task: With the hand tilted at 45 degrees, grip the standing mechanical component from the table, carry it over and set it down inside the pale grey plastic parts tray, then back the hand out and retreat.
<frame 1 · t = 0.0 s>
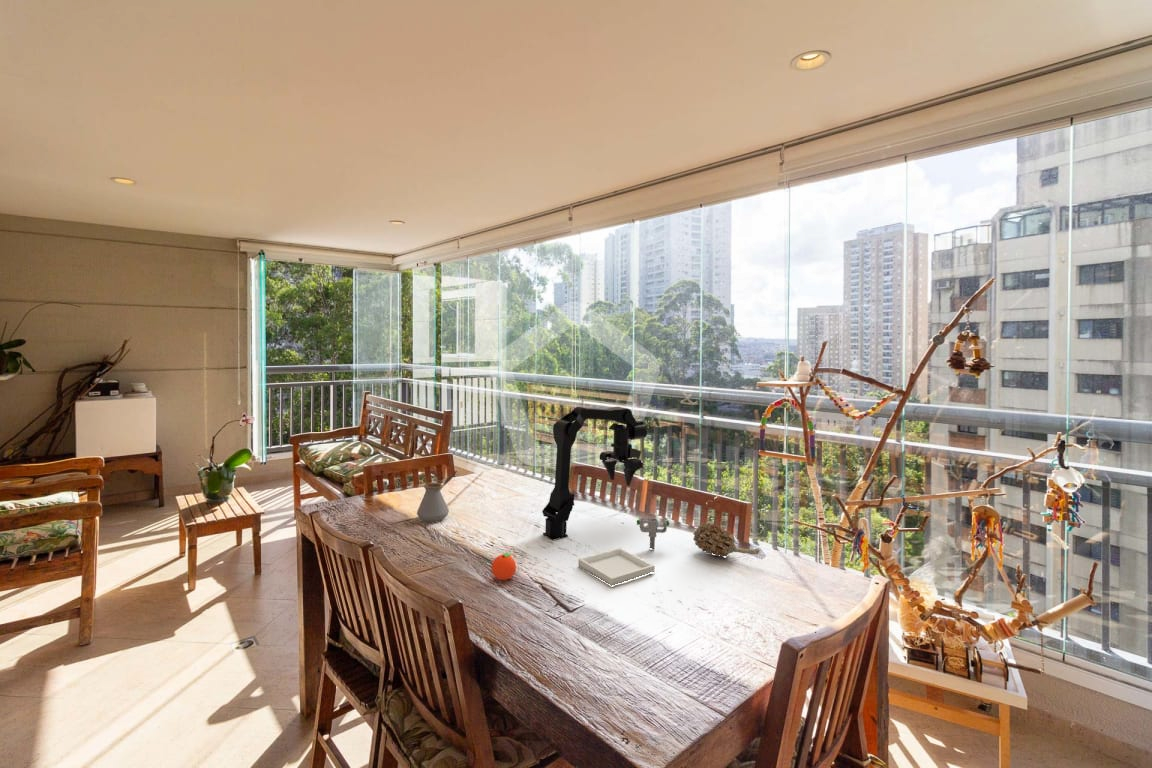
hand: (620, 482, 208), 15 cm above the table, tool pointing down, fingers open, 9 cm apart
coffee pot: (441, 515, 212), on the table
parts tray: (615, 570, 166), on the table
clementine: (505, 579, 160), on the table
mechanical component: (651, 550, 182), on the table
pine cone: (726, 559, 176), on the table
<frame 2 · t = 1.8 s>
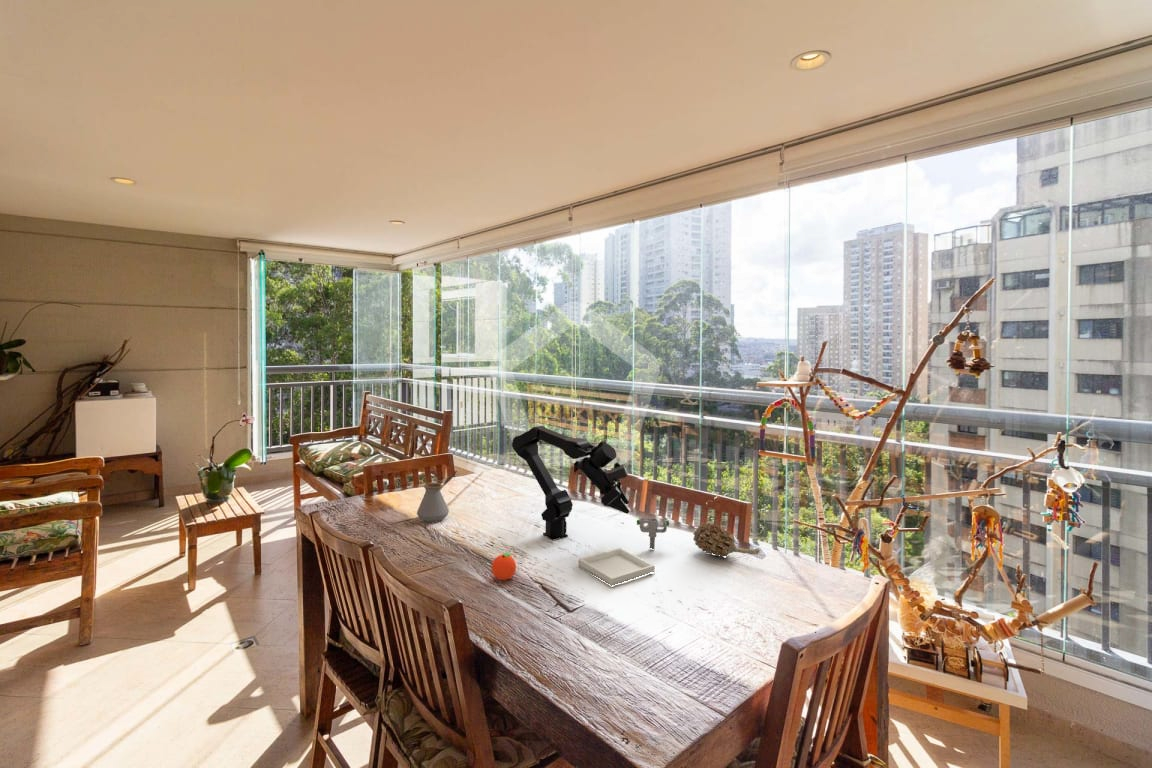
hand: (628, 508, 182), 13 cm above the table, tool tilted 45°, fingers open, 9 cm apart
nothing on the table moved.
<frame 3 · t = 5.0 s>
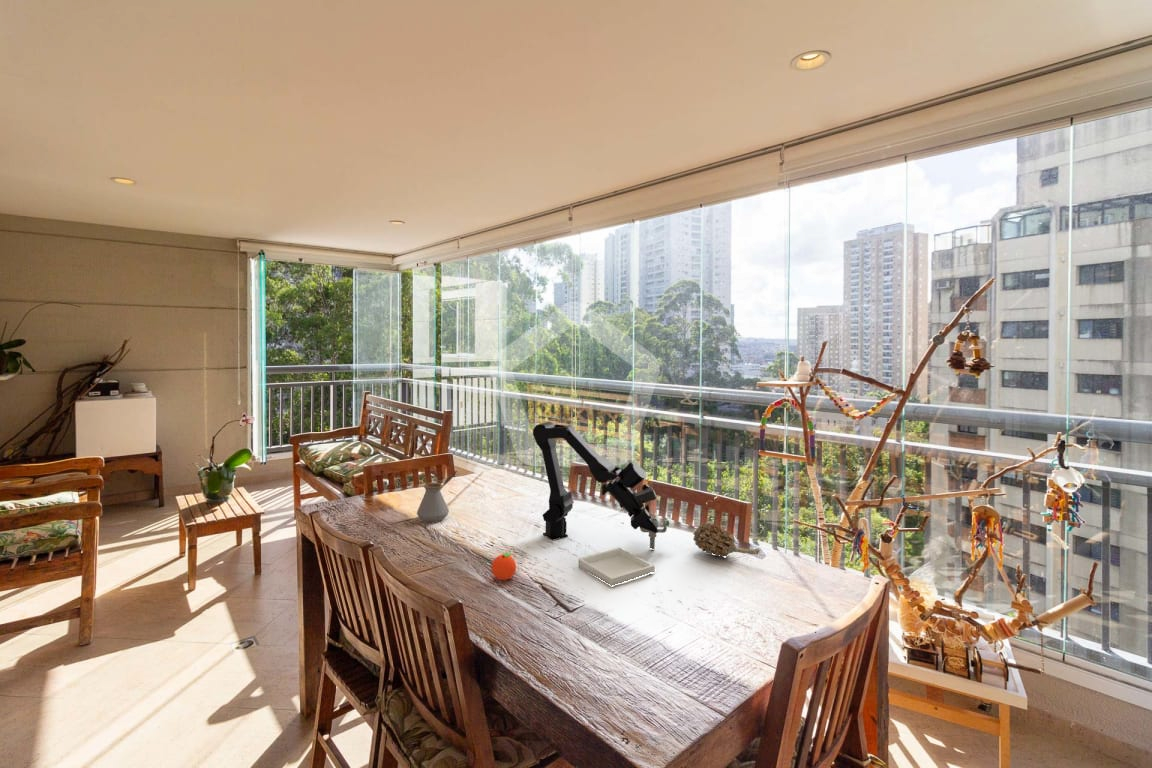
hand: (656, 530, 182), 7 cm above the table, tool tilted 45°, fingers closed on mechanical component, 3 cm apart
mechanical component: (652, 550, 182), on the table, touching gripper
everything else where it was.
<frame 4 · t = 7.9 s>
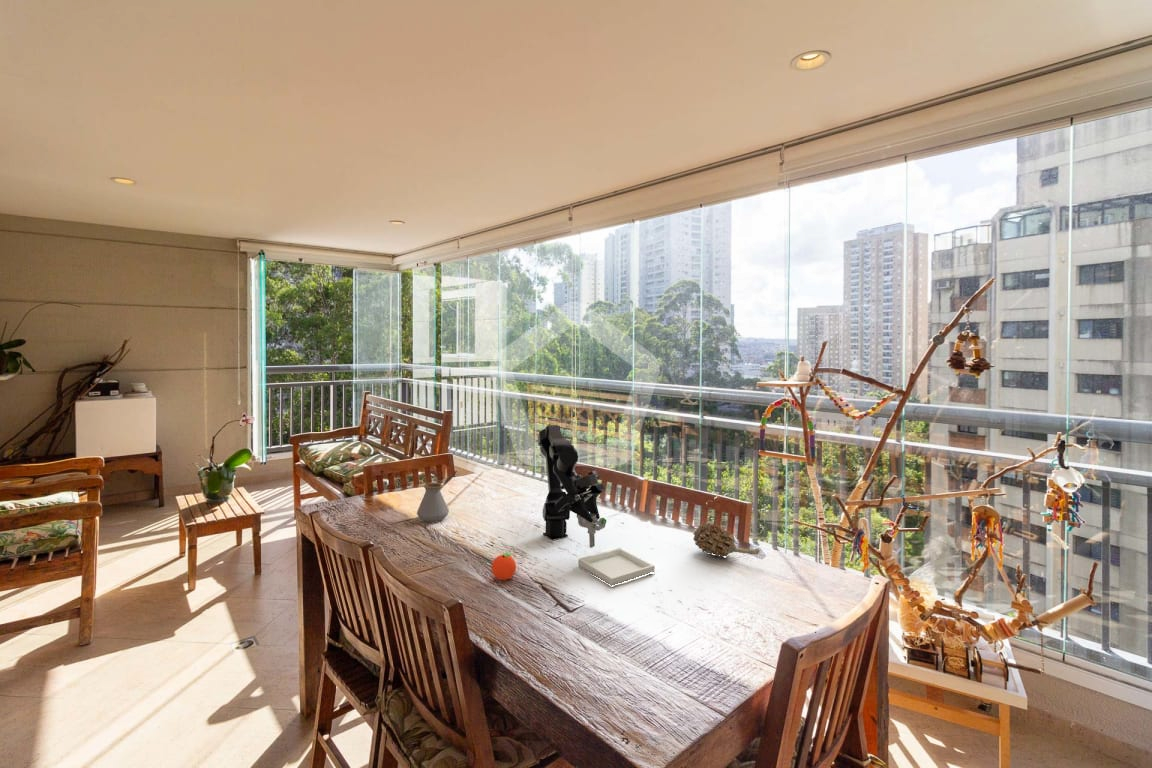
hand: (595, 520, 170), 13 cm above the table, tool tilted 45°, fingers closed on mechanical component, 3 cm apart
mechanical component: (592, 547, 172), point 4 cm above the table, touching gripper
everything else where it was.
when the fingers open (9 cm above the table, at t = 10.1 s): mechanical component stays where it is, resting on parts tray.
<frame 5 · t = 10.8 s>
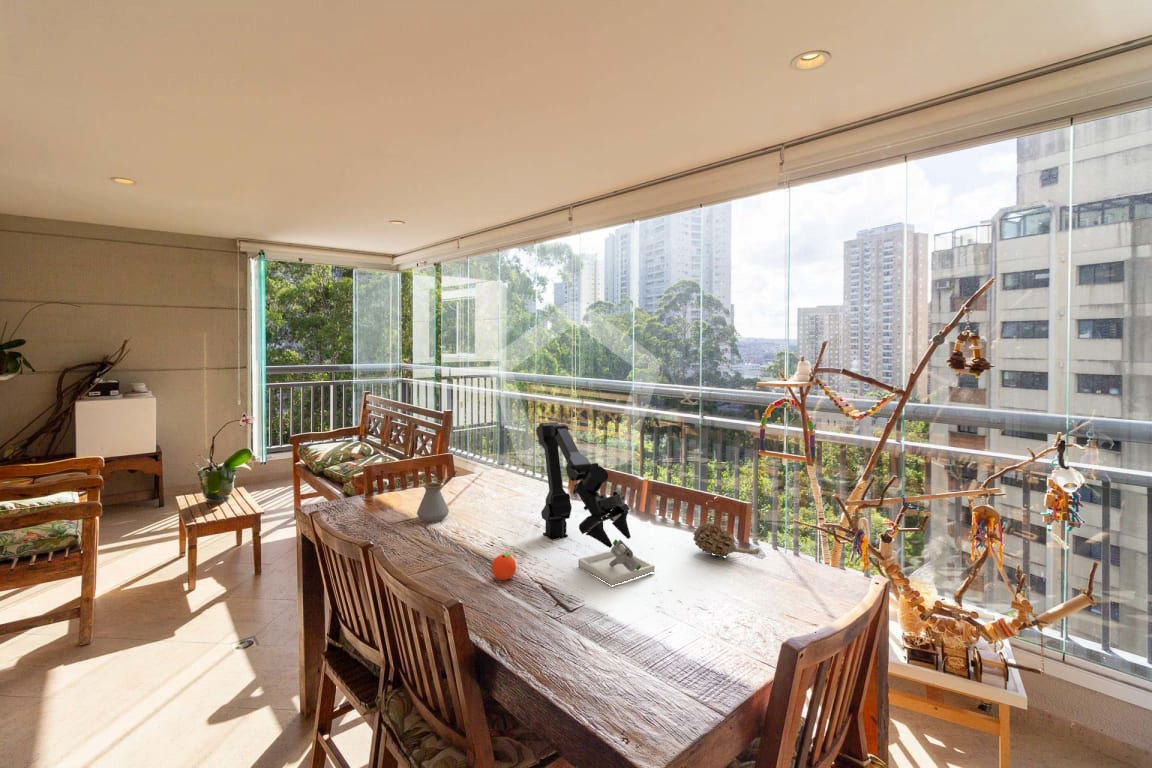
hand: (620, 542, 164), 9 cm above the table, tool tilted 45°, fingers open, 9 cm apart
mechanical component: (611, 564, 167), point 1 cm above the table, touching gripper, parts tray
everything else where it was.
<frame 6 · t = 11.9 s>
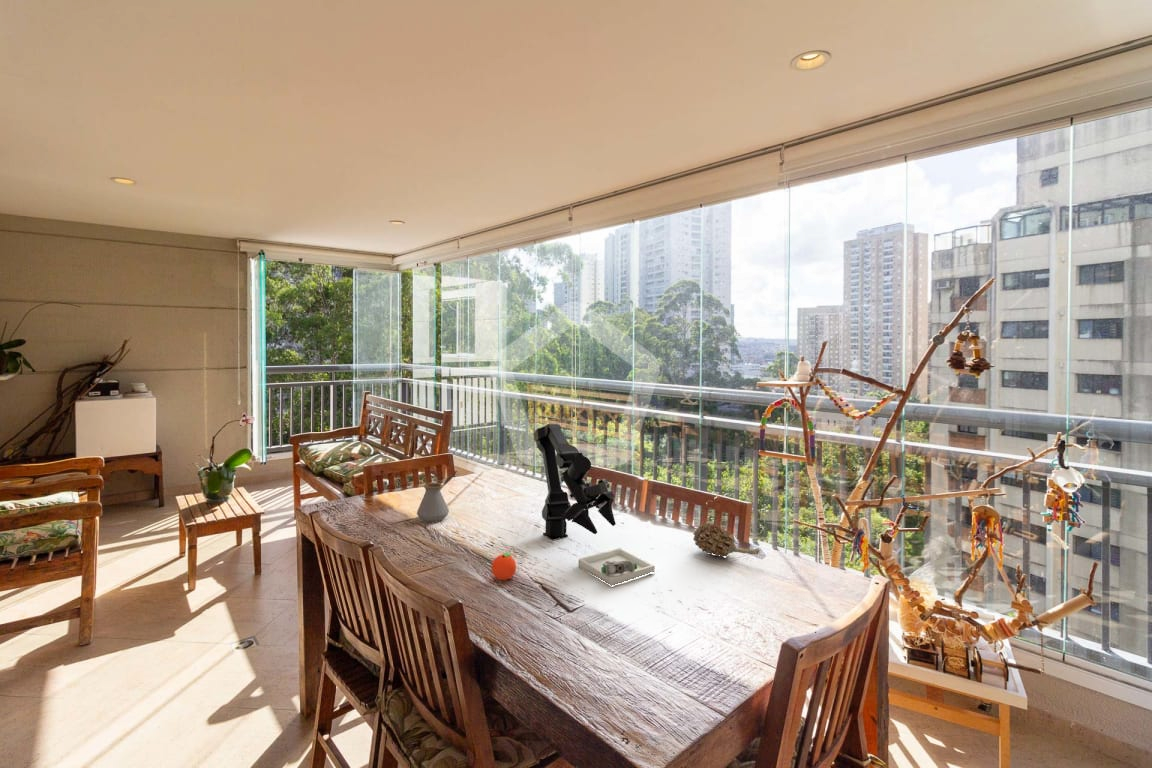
hand: (605, 529, 168), 11 cm above the table, tool tilted 45°, fingers open, 9 cm apart
mechanical component: (607, 563, 167), point 2 cm above the table, touching parts tray
everything else where it was.
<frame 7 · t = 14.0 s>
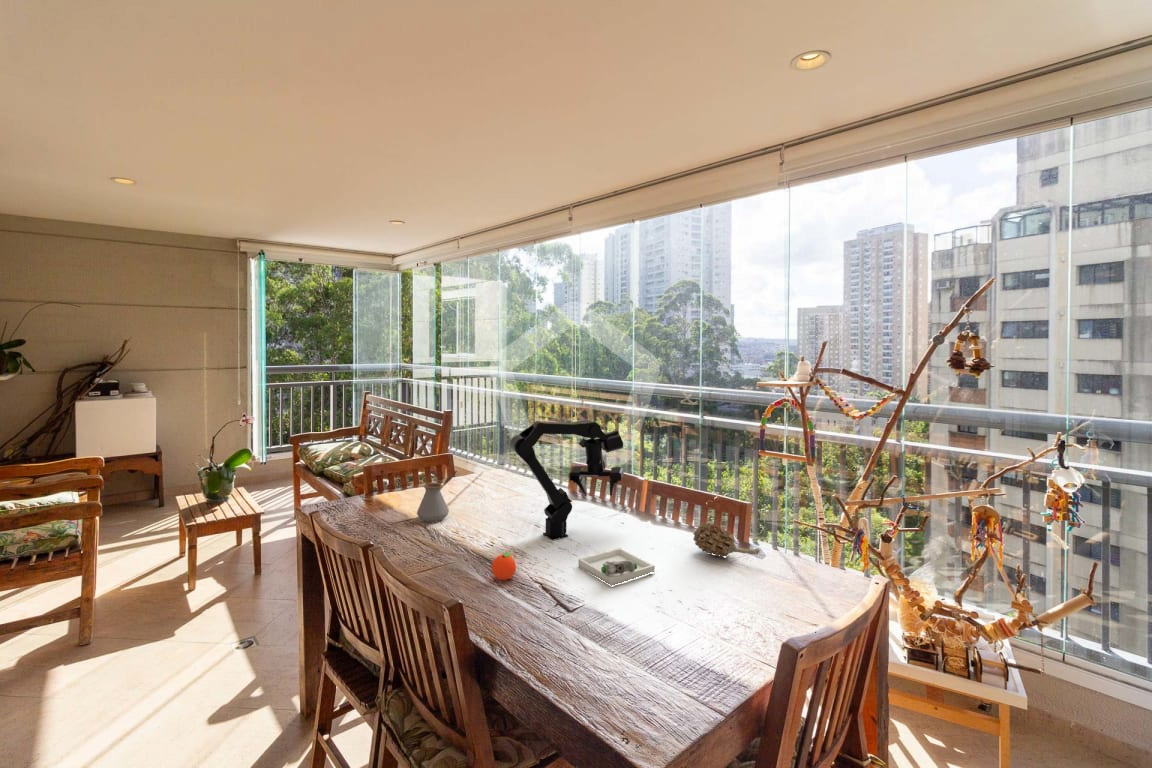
hand: (598, 495, 200), 12 cm above the table, tool pointing down, fingers open, 9 cm apart
nothing on the table moved.
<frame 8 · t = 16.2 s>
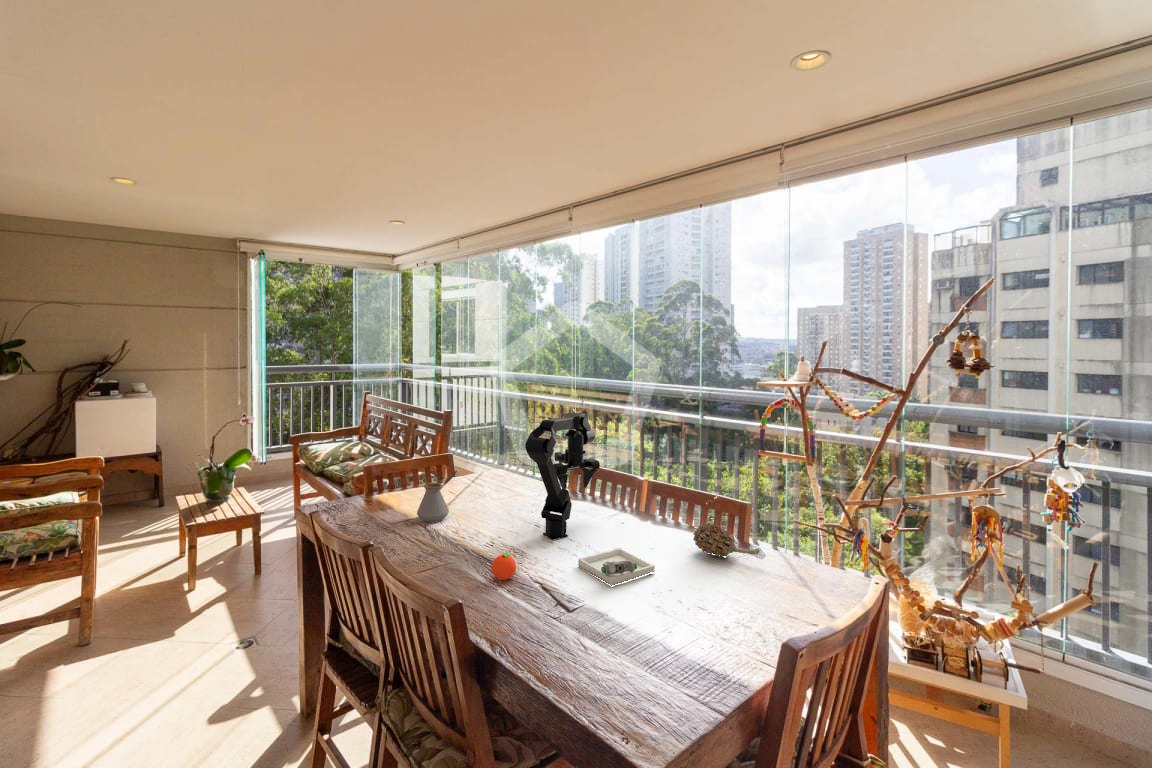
hand: (574, 489, 204), 13 cm above the table, tool pointing down, fingers open, 9 cm apart
nothing on the table moved.
at the end: mechanical component inside the target area on the parts tray (2.6 cm from its centre), point 1.6 cm above the parts tray's base; the gripper is holding nothing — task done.
